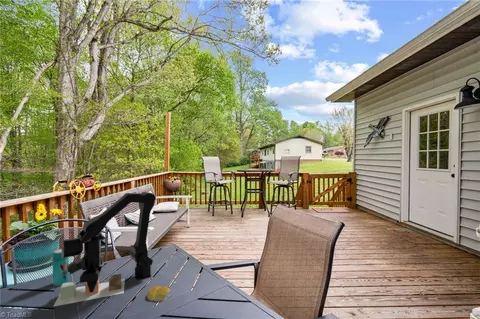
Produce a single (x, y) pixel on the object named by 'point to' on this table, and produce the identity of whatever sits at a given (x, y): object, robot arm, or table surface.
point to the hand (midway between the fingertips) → (92, 289)
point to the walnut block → (115, 282)
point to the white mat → (82, 297)
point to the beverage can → (60, 268)
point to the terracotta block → (87, 291)
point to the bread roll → (158, 293)
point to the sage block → (68, 290)
